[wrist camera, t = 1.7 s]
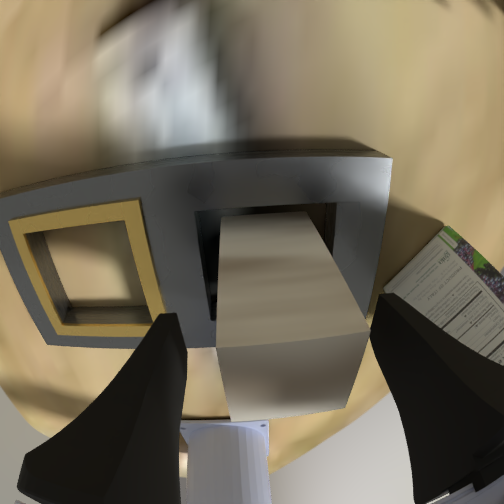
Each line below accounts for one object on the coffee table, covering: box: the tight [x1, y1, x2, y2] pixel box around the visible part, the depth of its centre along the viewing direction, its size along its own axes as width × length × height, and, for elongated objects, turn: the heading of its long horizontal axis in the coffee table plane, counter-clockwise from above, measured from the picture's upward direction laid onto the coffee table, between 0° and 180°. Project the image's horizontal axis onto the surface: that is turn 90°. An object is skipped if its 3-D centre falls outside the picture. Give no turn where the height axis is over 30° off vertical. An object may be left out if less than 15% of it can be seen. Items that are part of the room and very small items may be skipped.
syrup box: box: [383, 226, 504, 366], centre depth 11 cm, size 6×6×14 cm
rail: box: [0, 149, 392, 349], centre depth 14 cm, size 10×20×2 cm, turn 93°
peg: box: [216, 211, 371, 422], centre depth 12 cm, size 4×4×8 cm
